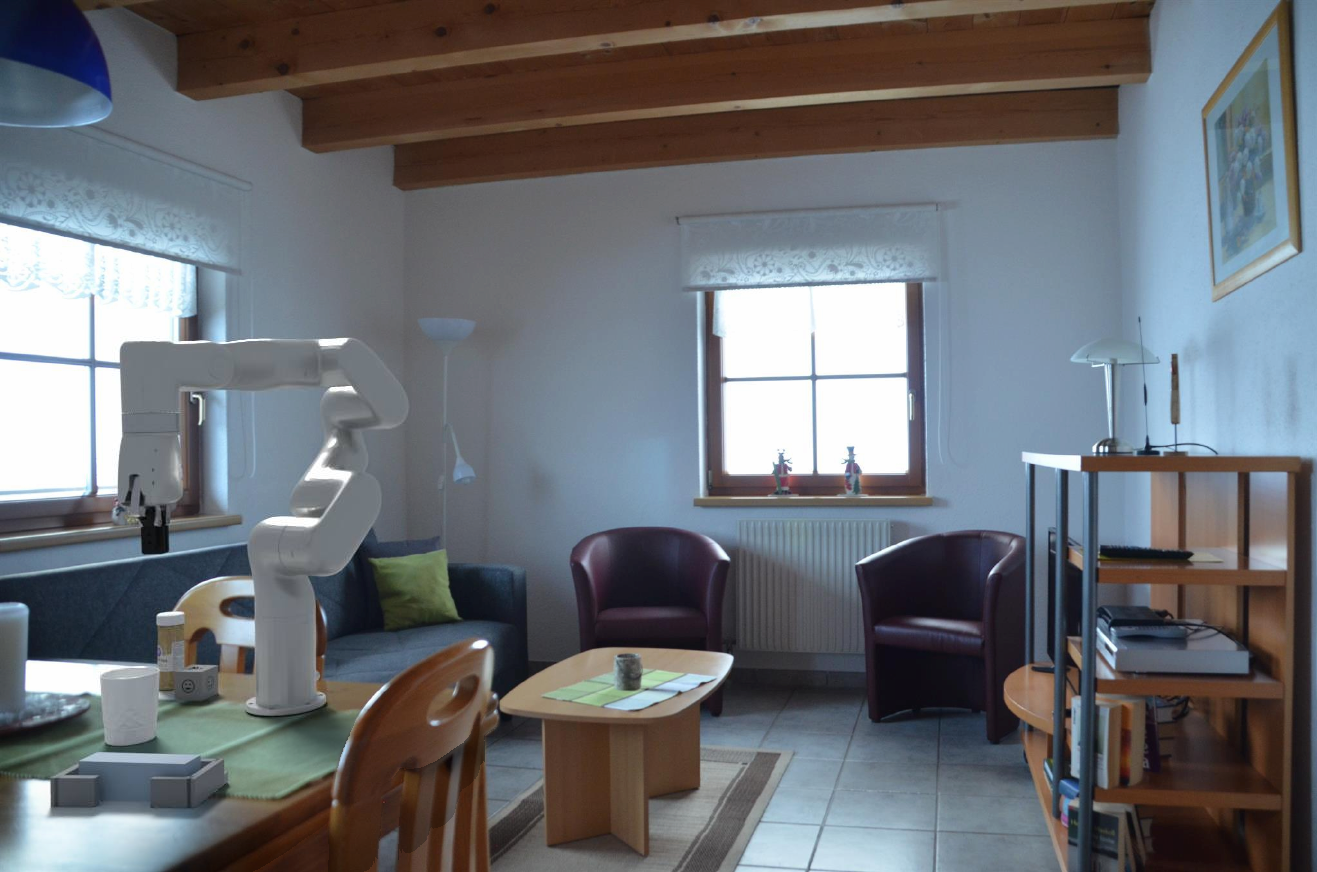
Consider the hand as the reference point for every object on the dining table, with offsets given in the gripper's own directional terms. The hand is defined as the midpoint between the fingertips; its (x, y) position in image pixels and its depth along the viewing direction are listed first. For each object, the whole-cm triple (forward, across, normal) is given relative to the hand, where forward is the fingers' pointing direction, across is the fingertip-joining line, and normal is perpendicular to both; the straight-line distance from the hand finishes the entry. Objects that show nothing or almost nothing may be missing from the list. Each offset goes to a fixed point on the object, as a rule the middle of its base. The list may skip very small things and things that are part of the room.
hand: (155, 553), depth 143 cm
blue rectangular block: (+28, +19, +7) cm, 35 cm away
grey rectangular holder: (+28, +19, +7) cm, 34 cm away
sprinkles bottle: (+29, -35, -16) cm, 48 cm away
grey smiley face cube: (+29, -29, -9) cm, 42 cm away
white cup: (+29, -4, -7) cm, 30 cm away
